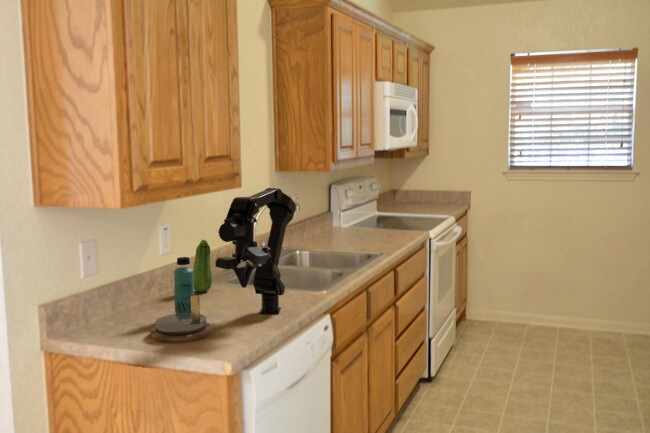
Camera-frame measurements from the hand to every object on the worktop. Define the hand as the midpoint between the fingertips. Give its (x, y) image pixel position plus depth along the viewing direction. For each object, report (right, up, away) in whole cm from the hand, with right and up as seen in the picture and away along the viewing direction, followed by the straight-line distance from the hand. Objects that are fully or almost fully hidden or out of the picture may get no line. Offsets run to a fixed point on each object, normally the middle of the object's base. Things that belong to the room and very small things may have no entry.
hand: (244, 287), depth 210 cm
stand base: (-18, -13, -8) cm, 23 cm away
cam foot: (-18, -11, -8) cm, 23 cm away
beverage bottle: (-20, -11, +9) cm, 25 cm away
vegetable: (-21, -6, +44) cm, 49 cm away
